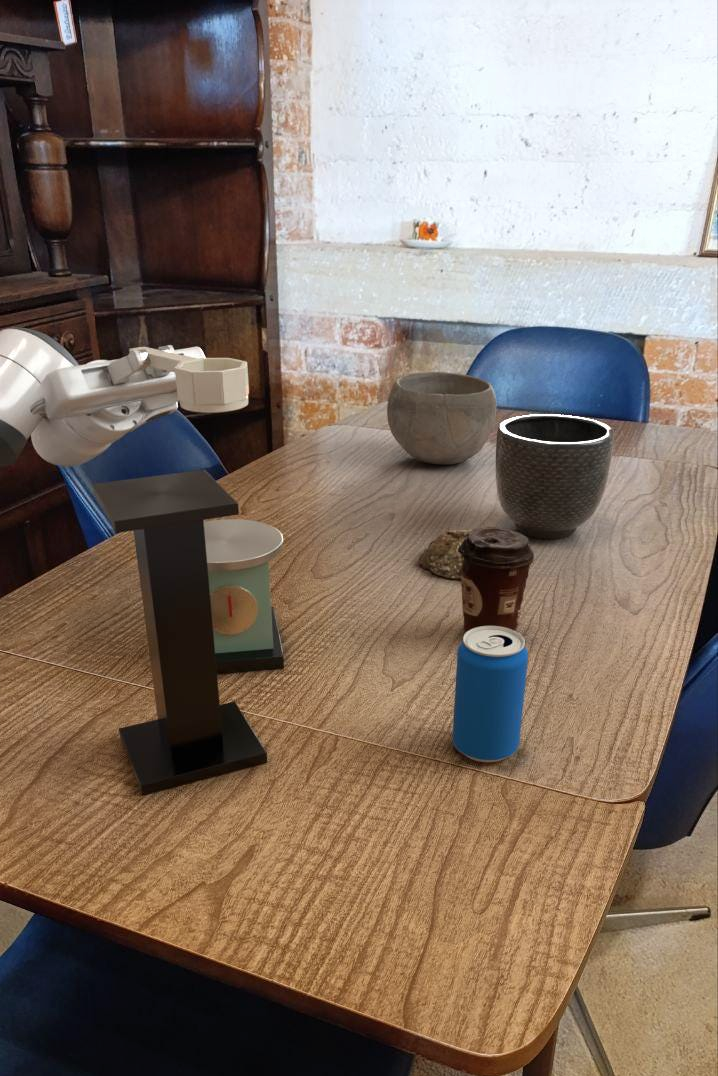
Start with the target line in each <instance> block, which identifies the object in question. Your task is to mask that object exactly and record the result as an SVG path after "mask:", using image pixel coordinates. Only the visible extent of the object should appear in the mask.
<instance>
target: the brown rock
mask: <svg viewBox="0 0 718 1076" xmlns="http://www.w3.org/2000/svg"><path fill="white" fill-rule="evenodd" d="M470 531H472V529H465V530H464V529H463V530H462V529H456V530H448V531H446V532H442V533H440V534H439V535H438V536H436V537H435V538H433V540H432V541H431V542H430V543H429V544H428V546H427V547H426V548H425V549H424V550H423V551H422V552H421V553H420V554H419V556H418V558H417V562H418V564H419V565H420V566H421V567H422V568H423V569H424V570H429V571H431V572H432V573H433V574H434V575H436V576H439V577H444V578H446V579H451V580H452V579H453V580H460V581H461V568H462V565H463V559H464V557H463V556H462V554H461V553H459V552H458V547H459V546H460V545H461V543H462V542H463V541H464V539H465V537H466V536H468V534H467V533H469V532H470Z"/></svg>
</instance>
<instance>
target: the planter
mask: <svg viewBox="0 0 718 1076" xmlns="http://www.w3.org/2000/svg"><path fill="white" fill-rule="evenodd" d="M615 437H616V433H615V430H614V429H613V428H612V427H611V426H609V425H607V424H606V423H603V422H601V421H597V420H594V419H590V418H585V417H580V416H572V415H564V414H562V415H561V414H554V415H550V414H547V415H544V414H529V415H522V416H516V417H511V418H508V419H505V420H503V421H502V422H501V423H499V425H498V427H497V431H496V443H495V444H496V445H495V485H496V492H497V499H498V501H499V505H500V507H501V509H502V510H503V512H504V513H505V515H506V516H507V517H508V518H509V519H510V520H511V521H512V522H513V523H514V526H515V527H516V529H517V531H518V532H519V533H520V534H522V535H524V536H526V537H531V538H535V539H541V540H559V539H564V538H568V537H570V536H571V535H573V534H574V533H575V532H576V531H577V529H578V527H580V526H582V525H583V524H585V523H586V522H587V521H589V519H591V517H592V516H594V514H595V512H596V511H597V509H598V507H599V505H600V503H601V502H602V499H603V496H604V495H605V494H604V493H605V490H606V487H607V483H608V479H609V474H610V469H611V465H612V459H613V452H614V446H615V439H616V438H615Z"/></svg>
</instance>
